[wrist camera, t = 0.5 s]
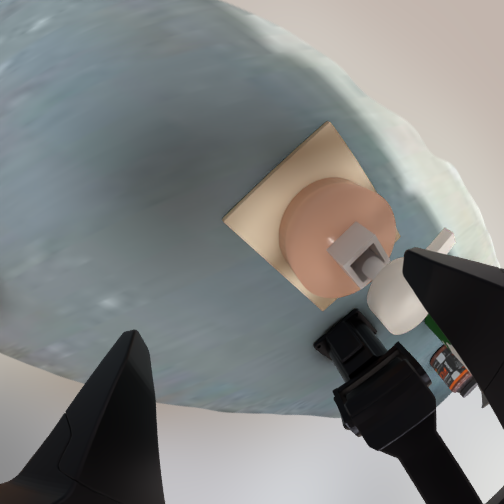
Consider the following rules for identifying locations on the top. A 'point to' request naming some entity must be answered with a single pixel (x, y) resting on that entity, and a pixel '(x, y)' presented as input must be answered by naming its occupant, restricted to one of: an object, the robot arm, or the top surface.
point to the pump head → (399, 289)
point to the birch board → (285, 189)
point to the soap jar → (335, 235)
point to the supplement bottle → (453, 372)
